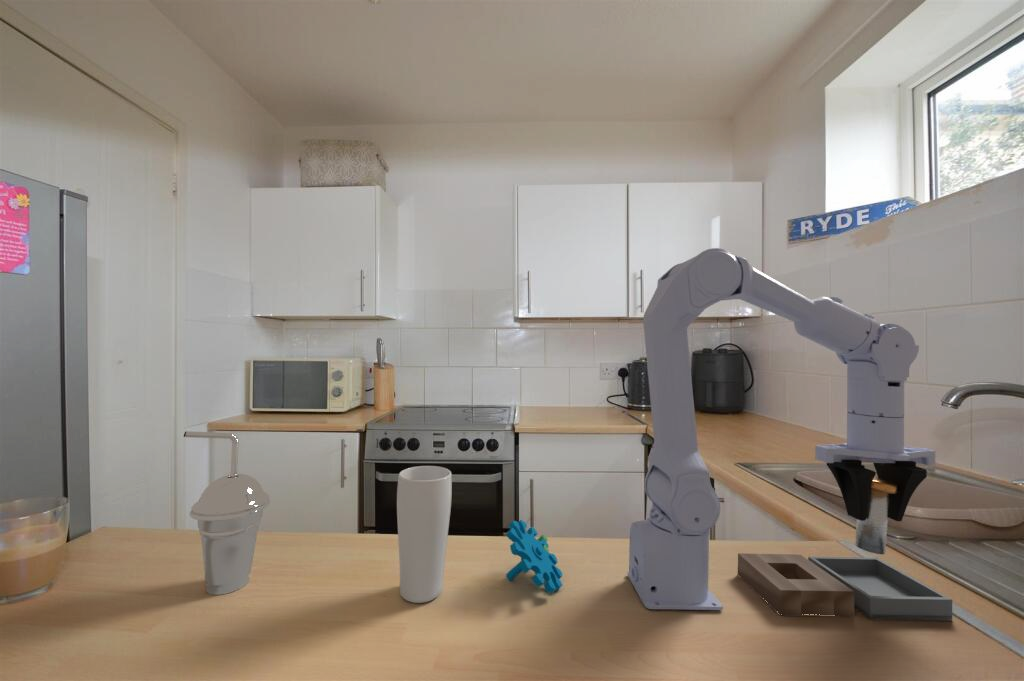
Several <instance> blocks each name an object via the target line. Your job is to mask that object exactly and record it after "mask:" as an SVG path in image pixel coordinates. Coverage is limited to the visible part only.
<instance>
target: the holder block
mask: <svg viewBox="0 0 1024 681" xmlns="http://www.w3.org/2000/svg"><path fill="white" fill-rule="evenodd" d="M738 575H739V576H740V577H741V578H742V579H741V578H740V577H739V576H738ZM737 576H738V577H739V578H740V579H741V580H742V581H743V582H744V583H746V585H747V586H749V587H750V589H752V588H753V589H754V590H755V591H756V592H757V593H758V594H759V595H760V596H761V597H762V598H764V600H763V601H765V600H766V601H767V602H768V603H767V602H766V601H765V602H766V603H767V604H768V605H769V604H770V605H771V606H772V607H773V608H774V609H775V610H776V611H778V613H779V614H780V615H781V614H782V615H802V614H803V615H804V614H809V615H810V614H814V615H815V614H817V615H819V614H820V615H835V616H834V617H837V616H847V618H848V617H849V616H850V617H849V618H851V617H852V618H853V617H855V608H854V591H853V590H852V589H850V588H849V587H847V586H846V585H844V584H843V583H841V582H840V581H838V580H837V579H835V578H834V577H833V576H831V575H830V574H828V573H827V572H825V571H824V570H822V569H821V568H819V567H818V566H816V565H815V564H814V563H812V562H811V561H809V560H808V558H806V557H805V556H803V555H802V554H793V553H792V554H786V553H785V554H784V553H782V554H781V553H737ZM753 589H752V590H753ZM754 590H753V591H754ZM755 591H754V592H755ZM756 592H755V593H756ZM757 593H756V594H757ZM758 594H757V595H758ZM759 595H758V596H759ZM760 596H759V597H760ZM761 597H760V598H761ZM762 598H761V599H762ZM770 605H769V606H770ZM771 606H770V607H771ZM772 607H771V608H772ZM773 608H772V609H773ZM774 609H773V610H774ZM775 610H774V611H775ZM776 611H775V612H776ZM778 613H777V614H778ZM779 614H778V615H779ZM780 615H779V616H780Z"/></svg>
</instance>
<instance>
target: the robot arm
mask: <svg viewBox="0 0 1024 681" xmlns="http://www.w3.org/2000/svg"><path fill="white" fill-rule="evenodd" d="M732 300H733V301H734V300H741V301H744V302H746V303H749V304H750V305H752V306H755V307H757V308H759V309H763V310H765V311H767V312H769V313H773V314H774V315H777V316H779V317H781V318H783V319H786V320H788V321H790V322H793V325H794V326H793V327H794V330H795V332H796V333H797V334H798V335H799V336H801V337H803V338H805V339H808V340H810V341H812V342H814V343H816V344H817V345H819V346H822V347H824V348H826V349H828V350H830V351H833V352H835V354H836V356H837V358H838V359H839V361H840V362H841V363H842V364H843V365H847V366H846V367H847V368H846V375H847V376H846V385H847V386H846V387H847V388H846V395H847V396H846V410H847V411H846V442H844V443H832V444H815V445H814V446H815V447H814V451H815V452H814V453H815V454H814V458H815V461H816V460H817V461H820V462H823V463H825V464H826V466H827V468H828V470H829V471H830V472H831V474H832V475H833V477H834V479H835V482H836V483H837V485H838V487H839V490H840V493H841V496H842V499H843V502H844V505H845V509H846V512H847V515H848V516H850V517H851V518H854V519H856V520H857V519H858V520H861V521H865V520H866V517H867V510H868V495H869V490H870V487H871V483H872V481H873V478H874V477H875V476H876V475H877V476H876V477H877V478H880V479H884V480H888V481H891V482H894V483H896V484H897V493H895V494H892V493H889V506H888V518H889V519H891V520H892V521H895V522H902V521H903V518H904V516H905V512H906V510H907V507H908V504H909V502H910V500H911V497H912V496H913V494H914V492H915V491H916V489H917V488H918V487H919V485H921V483H922V482H923V481H924V480H925V479H926V478H927V476H928V475H927V473H928V470H927V469H926V468H924V467H920V466H917V465H925V466H936V450H934V449H933V450H932V449H929V448H926V447H925V448H924V447H920V446H919V447H917V446H916V447H915V446H905V382H907V381H908V378H910V368H911V365H912V364H913V363H914V362H915V360H916V358H917V356H918V354H919V350H920V348H919V347H920V346H919V344H917V345H916V342H915V341H916V340H915V338H914V336H913V334H912V333H910V331H909V330H907V329H905V328H904V327H903V326H900V325H899V324H897V323H896V324H895V323H879V322H878V321H877V320H875V317H874V316H873V315H871V314H869V313H865V314H864V313H860V312H858V311H856V310H855V309H852V308H850V307H849V306H846V305H844V304H842V303H843V301H844V300H843V299H841V298H840V297H837V296H828V297H827V296H818V297H815V298H813V299H810V298H808V297H806V296H804V295H803V294H801V293H799V292H797V291H796V290H794V289H792V288H791V287H788V286H787V285H785V284H784V283H781V282H779V281H778V280H776V279H774V278H772V277H771V276H769V275H767V274H765V273H764V272H762V271H760V270H758V269H756V268H755V267H753V265H752V264H751V263H750V261H748V259H747V258H745V257H742V256H738V255H733V253H732V252H730V251H728V250H726V249H723V248H720V247H719V248H718V247H713V248H708V249H705V250H703V251H702V252H699V254H697V255H696V256H693V257H691V258H689V259H687V260H686V261H684V262H681V263H677V264H675V265H673V266H672V267H670V268H669V269H668V270H667V271H666V272H665V273H664V274H663V275H662V276H661V277H659V278H658V279H657V287H656V288H655V291H654V293H653V295H652V297H651V299H650V301H649V303H648V305H647V308H646V309H645V312H644V314H643V320H642V321H643V333H644V335H643V336H644V344H645V345H644V346H645V356H646V364H647V366H646V367H647V376H648V377H647V378H648V388H649V399H650V400H649V401H650V409H651V410H650V411H651V422H652V432H653V443H654V448H652V449H653V450H652V451H651V452H650V453H649V455H648V470H647V473H646V476H645V477H644V478H645V479H644V483H643V484H644V485H643V487H644V492H645V494H646V496H647V498H648V499H649V501H651V508H650V511H649V517H648V518H646V519H644V520H638V521H632V523H631V525H630V529H629V550H628V551H629V553H628V554H629V558H628V562H629V563H628V570H627V572H626V573H627V574H626V575H627V576H628V579H629V580H630V582H631V584H632V586H633V587H634V590H635V591H636V593H637V595H638V597H639V599H640V600H641V602H642V604H643V605H644V607H645V608H646V609H648V610H680V611H681V610H682V611H683V610H684V611H685V610H687V611H688V610H690V611H691V610H692V611H693V610H694V611H695V610H697V611H700V610H701V611H722V610H723V609H724V607H723V604H722V602H721V601H719V600H718V598H717V597H716V596H715V595H714V593H713V592H712V591H711V590H710V589H709V569H710V568H709V567H710V566H709V562H710V561H709V560H710V557H709V556H710V549H709V548H710V530H711V529H712V528H713V527H714V526H715V524H717V521H718V519H720V518H719V517H720V515H721V514H720V513H721V503H720V498H719V497H718V496H719V495H718V494H717V492H716V491H715V490H714V488H713V486H712V483H711V479H710V478H711V476H710V472H709V471H710V470H709V469H708V467H707V465H706V463H705V461H704V459H703V457H702V455H701V454H700V451H699V446H698V445H699V444H698V436H697V435H698V434H697V423H696V415H695V414H696V413H695V402H694V394H693V393H694V392H693V382H692V370H691V358H690V351H689V350H690V348H689V338H688V327H689V326H690V325H691V324H692V323H693V322H694V321H695V320H696V319H697V318H698V317H699V316H700V315H701V314H702V313H703V312H704V311H705V310H706V309H708V308H710V307H712V306H713V305H715V304H717V303H720V302H721V301H732ZM862 463H865V464H866V463H867V464H868V463H872V464H873V466H874V469H875V470H872V469H869V468H867V467H865V465H864V464H862Z"/></svg>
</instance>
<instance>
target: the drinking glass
mask: <svg viewBox="0 0 1024 681" xmlns="http://www.w3.org/2000/svg"><path fill="white" fill-rule="evenodd" d="M452 476H453V475H452V471H451V470H450V469H448V468H446V467H443V466H438V465H437V466H436V465H420V466H419V465H418V466H411V467H408V468H405V469H403V470H401V471H400V472H399V473H398V478H397V479H398V480H397V488H396V489H397V490H396V517H397V518H396V519H397V520H396V521H397V540H398V557H399V561H398V563H399V593H400V596H401V597H402V599H404V600H405V601H407V602H410V603H412V604H423V603H427V602H431V601H434V600H435V599H436V598H437V597H439V596H440V594H441V593H442V592H443V588H444V572H445V562H446V554H447V544H448V537H449V528H450V518H451V512H452V511H451V508H452V498H453V497H452V495H453V494H452V490H453V487H452V486H453V481H452V480H453V479H452V478H453V477H452Z"/></svg>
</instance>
